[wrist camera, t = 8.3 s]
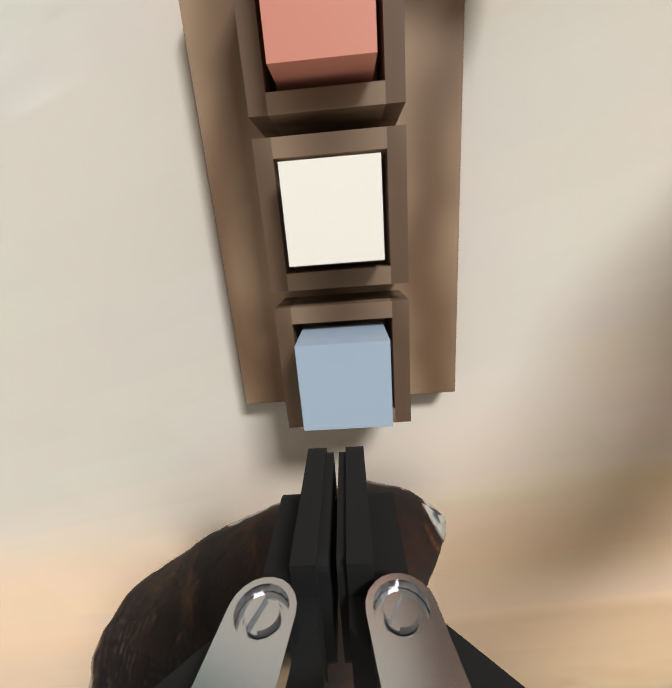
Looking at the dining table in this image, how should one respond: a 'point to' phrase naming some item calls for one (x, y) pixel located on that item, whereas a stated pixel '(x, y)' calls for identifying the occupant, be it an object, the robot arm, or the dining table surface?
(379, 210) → the ivory key
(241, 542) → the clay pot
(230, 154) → the keypad
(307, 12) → the brick key
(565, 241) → the dining table surface
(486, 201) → the dining table surface
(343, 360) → the slate key
